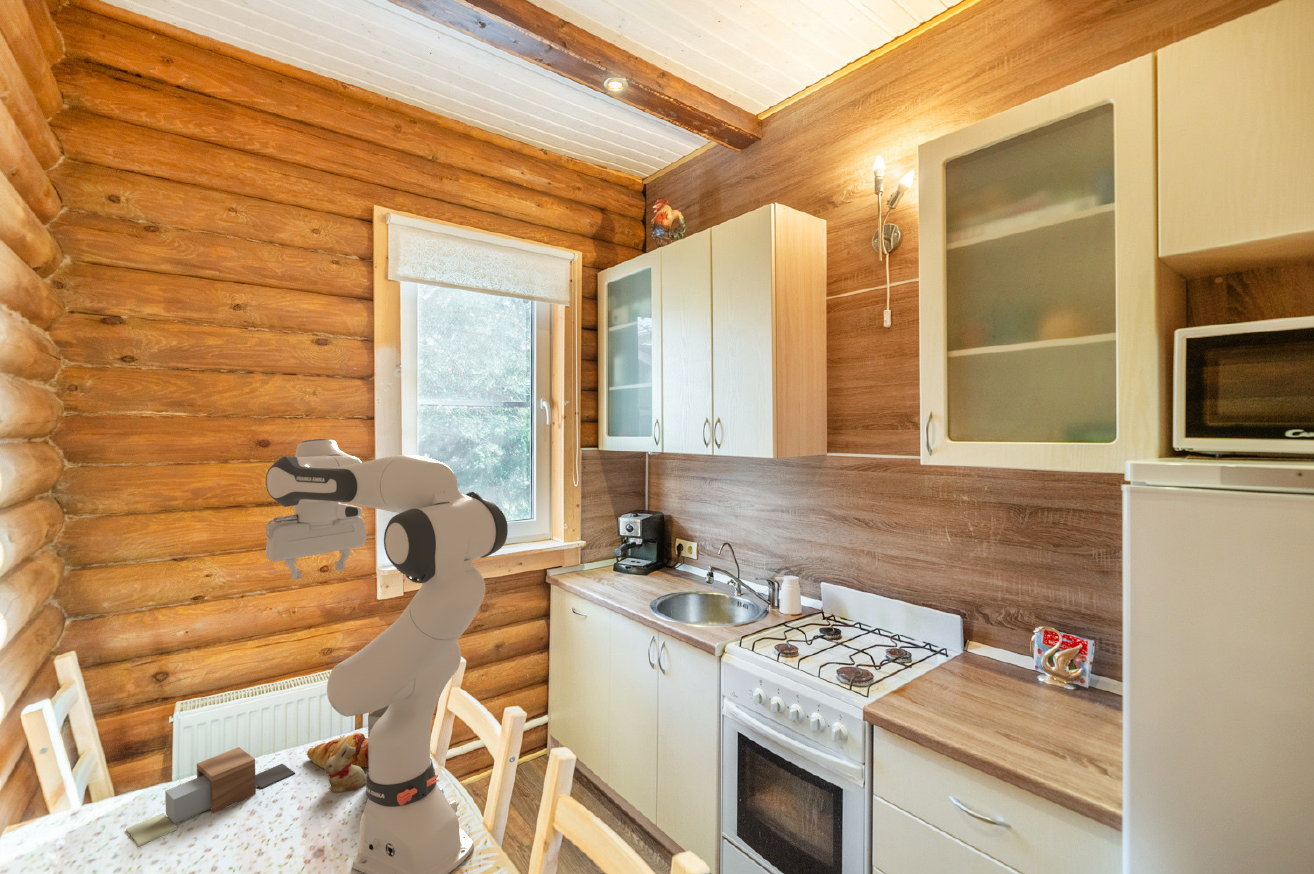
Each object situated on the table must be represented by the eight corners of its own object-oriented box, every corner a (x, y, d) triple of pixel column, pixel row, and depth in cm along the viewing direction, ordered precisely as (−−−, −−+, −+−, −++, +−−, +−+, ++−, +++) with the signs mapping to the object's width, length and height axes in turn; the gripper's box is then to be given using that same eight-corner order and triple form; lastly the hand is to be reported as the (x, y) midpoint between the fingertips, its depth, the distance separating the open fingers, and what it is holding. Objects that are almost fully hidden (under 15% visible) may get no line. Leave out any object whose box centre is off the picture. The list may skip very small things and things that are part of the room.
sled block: (226, 800, 129) (225, 777, 129) (174, 823, 121) (173, 799, 121) (216, 792, 132) (216, 769, 132) (165, 814, 124) (165, 790, 124)
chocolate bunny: (338, 778, 138) (337, 735, 137) (370, 779, 137) (370, 736, 137) (322, 792, 132) (321, 748, 132) (356, 794, 132) (355, 749, 131)
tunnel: (296, 775, 139) (296, 741, 139) (139, 846, 115) (138, 806, 115) (280, 763, 144) (279, 731, 143) (125, 829, 120) (124, 791, 120)
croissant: (300, 780, 143) (288, 760, 139) (323, 741, 151) (312, 721, 147) (385, 782, 141) (375, 762, 137) (403, 742, 150) (395, 722, 146)
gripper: (272, 519, 123) (274, 586, 123) (369, 507, 140) (370, 566, 140) (259, 516, 127) (260, 581, 127) (354, 505, 143) (355, 563, 144)
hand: (319, 573), depth 134 cm, fingers open, 8 cm apart
